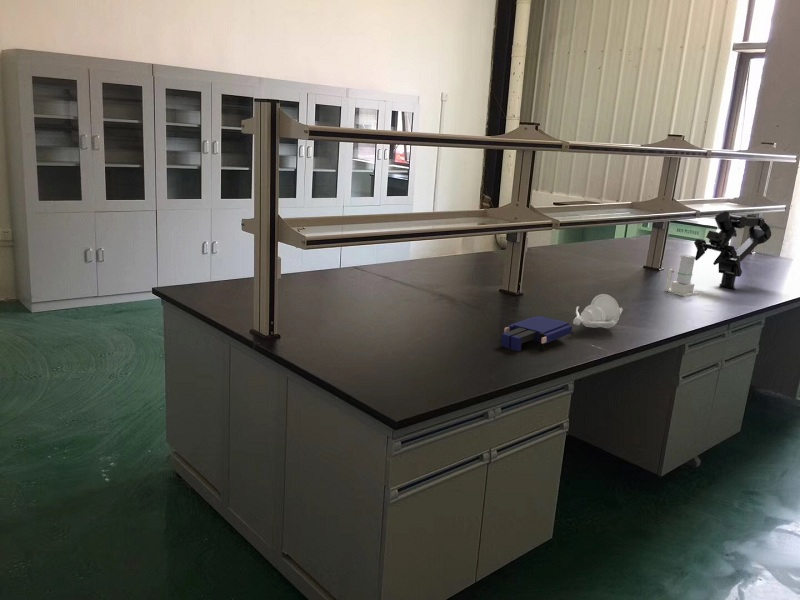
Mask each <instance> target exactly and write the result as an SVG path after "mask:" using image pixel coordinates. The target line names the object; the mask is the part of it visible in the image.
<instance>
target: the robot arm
mask: <svg viewBox="0 0 800 600" xmlns="http://www.w3.org/2000/svg"><path fill="white" fill-rule="evenodd" d="M714 221H715V223H716V225H717V227H718V230H719V232H717V231H713V230H708V231H707V234H706V236H705V238H707V239H708V242H709V243H707V241H706V240H705V239H700V238H696V239H695V240H694V241H693V243H694V246H695V248H696V254H695V257H696V259H695V260H694V261H695V262H697V261H698V260H700V258H702V256H704V254H705V253H706V252H707V251H708V249H709V250H711V251H712V250H713V251H716V252H720V253H719V255H718V256H717V257H716V259H714V261H713V265H714V266H716V265H717V264H718V273H720V274H722V275H721V276H722V277H721V281H720V283H718V284H719V288H724V289H732V290H735V289H736V286H735V283H736V278H737V277H739V278H740V277H741V276H742V274H743V270H742V268H741V267H742V266H741V265H742V264H741V262H742V261H743V260H744V259H745V258H746V257H747V256H748V255H749V254H750V253H751V252H752V251H753V250H754V249H755V248H757V246H758V245H761V244H764V243H766V242H768V241H769V240H770V239H771V237H772V231H771V227H770V226H769V225H768V224H767V223H766V222H765V219H764V218H763V217H760V216H759V217H758V216H753V217H751V216H750V217H749V216H747V217H746V216H744V215H739V214H730V212H729V211H727V210H726V211H723V212H719V213H718V214H716V215H715V217H714ZM746 227H749V228H748V231H749V237H748V238H747V239H746V240H745V241H744V242H743V243H742V244H741V245H740V246H739V247H738V248H737V249H736V248H735V246H734V245H730V241H731V239H732V238H734V237H737V236H738V234H737V229H740V230H741V229H745V228H746Z"/></svg>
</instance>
